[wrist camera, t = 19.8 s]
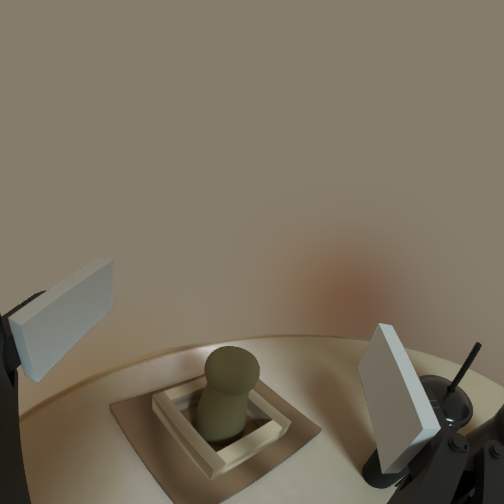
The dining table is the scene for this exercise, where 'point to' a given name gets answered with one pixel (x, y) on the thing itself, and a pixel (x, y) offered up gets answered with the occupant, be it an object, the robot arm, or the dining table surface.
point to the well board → (199, 451)
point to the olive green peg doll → (226, 395)
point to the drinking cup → (454, 411)
